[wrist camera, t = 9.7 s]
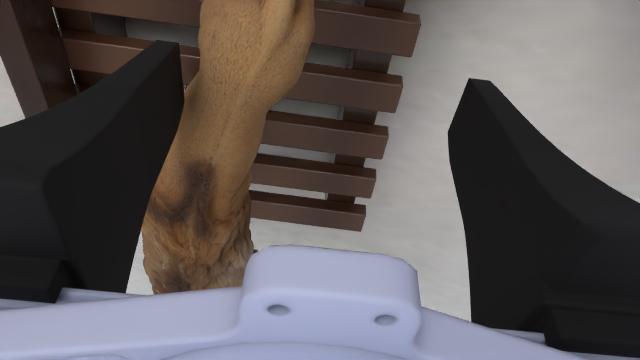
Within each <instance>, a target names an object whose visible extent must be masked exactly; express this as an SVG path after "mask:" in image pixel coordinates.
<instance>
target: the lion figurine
mask: <svg viewBox="0 0 640 360" xmlns="http://www.w3.org/2000/svg"><path fill="white" fill-rule="evenodd" d="M199 1H201V2H203V3H202V5H201V11H200V30H199V33H198V45H199V50H200V67H199V72H198V73H197V75H196V76H195V77H194V79H193V80H192V81H191V83H190V84H189V85H188V87H187V88H186V90H185V92H184V99H185V103H184V107H183V111H182V116H181V120H180V123H179V127H178V131H177V133H176V136H175V138H174V141H173V143H172V145H171V148H170V150H169V153H168V155H167V157H166V160H165V162H164V165H163V167H162V169H161V172H160V174H159V176H158V179H157V181H156V184H155V186H154V188H153V191H152V194H151V197H150V199H149V203H148V206H147V210H146V213H145V217H144V220H143V224H142V227H141V231H142V237H143V253H144V255H145V257H144V260H143V266H144V269H145V272H146V274H147V275H148V276H149V279H150V282H151V284H152V290H153V293H154V295H155V294H165V293H175V292H186V291H196V290H206V289H216V288H226V287H236V286H242V285H243V279H244V273H245V268H246V265H247V263H248V261H249V259H250V257H251V255H252V254H254V253H256V252H258V251H257V250H255V249H254V245H253V242H252V240H251V231H250V229H249V225H250V217H251V199H250V195H249V191H248V189H249V187H250V184H251V180H252V174H251V171H250V168H251V166H252V164H253V162H254V160H255V157H256V155H257V152H258V149H259V146H260V142H261V139H262V134H263V129H264V125H265V120H266V114H267V112H268V111H269V110H270V109H271V108H272V106H274V105H275V104H276V103H277V102H278V101H279V100H280V99H281V98H282V97H283V96H284V95H285V94H286V93H287V92H288V91H289V90H290V89H291V88H292V87H293V86H294V85H295V84H296V83H297V81H298V79H299V77H300V76H301V73H302V70H303V67H304V64H305V61H306V57H307V54H308V51H309V48H310V45H311V42H312V40H313V37H314V33H315V19H314V0H199Z"/></svg>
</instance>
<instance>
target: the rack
mask: <svg viewBox="0 0 640 360" xmlns="http://www.w3.org/2000/svg"><path fill="white" fill-rule="evenodd" d="M405 1H406V0H360V1H359V6H357V5H350V4H343V3H336V2H329V1H323V0H314V19H315V33H314V37H313V40H312V42H311V43H313V44H320V45H327V46H334V47H341V48H349V49H351V50H350V55H349V61H348V66H347V68H342V67H335V66H327V65H320V64H313V63H306V62H305V64H304V67H303V70H302V73H301V76H300V77H299V79H298V81H297V83H296V84H295V85H294V86H293V87H292V88H291V89H290V90H289V91H288V92H287V93H286V94H285V95H284V96H283V97H282V98H287V99H295V100H302V101H309V102H317V103H324V104H331V105H339V106H340V110H339V115H338V120H337V119H329V118H322V117H314V116H307V115H300V114H292V113H285V112H278V111H270V110H269V111H268V112H267V114H266V120H265V125H264V129H263V134H262V139H261V142H260V143H261V144H268V145H276V146H283V147H291V148H298V149H306V150H313V151H321V152H328V153H331V159H330V163H327V162H320V161H312V160H304V159H297V158H289V157H282V156H274V155H267V154H259V153H257V155H256V157H255V160H254V162H253V164H252V166H251V168H250V171H251V174H252V180H251V183H255V184H263V185H271V186H278V187H286V188H294V189H301V190H309V191H317V192H324V193H325V200H323V199H315V198H307V197H300V196H292V195H284V194H276V193H269V192H261V191H253V190H248V191H249V195H250V199H251V217H250V218H257V219H265V220H273V221H281V222H289V223H296V224H304V225H312V226H320V227H328V228H335V229H343V230H351V231H359V232H361V231H362V227H363V224H364V220H365V217H366V205H361V204H354V202H355V198H356V197H362V198H371V196H372V193H373V189H374V186H375V182H376V169H372V168H365V167H363V166H364V162H365V158H373V159H382V158H383V154H384V151H385V148H386V144H387V141H388V137H389V134H388V127H387V126H381V125H374V123H375V119H376V115H377V111H382V112H390V113H395V112H396V109H397V106H398V102H399V99H400V95H401V92H402V88H403V78H402V76H399V75H392V74H387V72H388V68H389V64H390V60H391V56H392V55H398V56H405V57H411V56H412V54H413V50H414V47H415V43H416V40H417V36H418V33H419V29H420V26H421V22H420V15H418V14H413V13H406V12H403V9H404V5H405ZM202 3H203V2H201V1H199V0H0V56H1V58H2V61H3V63H4V66H5V68H6V71H7V73H8V76H9V78H10V81H11V83H12V86H13V88H14V91H15V93H16V96H17V98H18V101H19V103H20V106H21V108H22V111H23V113H24V116H25V118H28V117H30V116H33V115H35V114H38V113H40V112H43V111H45V110H47V109H50V108H52V107H54V106H57V105H59V104H61V103H63V102H65V101H67V100H69V99H71V98H73V97H74V96H76V95H78V94H80V93H82V92H83V91H85V90H87V89H88V88H90V87H92V86H93V85H95V84H96V83H98V82H99V81H101V80H102V79H104V78H105V77H107V76H109V75H110V74H112V73H113V72H114V71H116V70H117V69H119V68H120V67H121V66H123V65H124V64H125V63H127V62H128V61H130V60H131V59H132V58H134V57H135V56H136V55H137V54H139V53H140V52H141V51H143V50H144V49H145V48H147V47H148V46H149V45H151V44H152V43H153V42H155V41H149V40H142V39H134V38H127V36H126V30H125V25H124V19H123V17H129V18H136V19H143V20H150V21H157V22H165V23H172V24H179V25H186V26H193V27H200V11H201V5H202ZM52 7H53V8H54V11H55V15H56V18H57V22H58V25H59V28H58V26H57V23H56V19H55V16H54V12H53V9H52ZM179 48H180V58H181V68H182V78H183V84H185V85H189V84H190V83H191V81H192V80H193V79H194V77H195V76H196V75H197V73H198V72H199V67H200V50H199V47H192V46H185V45H179ZM70 69H71V70H72V74H73V77H74V80H75V84H74V81H73V78H72V74H71V71H70Z"/></svg>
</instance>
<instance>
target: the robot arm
mask: <svg viewBox="0 0 640 360" xmlns="http://www.w3.org/2000/svg"><path fill="white" fill-rule="evenodd" d="M184 103H185V99H184V88H183V78H182V68H181V58H180V48H179V43H177V42H169V41H161V40H156V41H155V42H153V43H152V44H151V45H149V46H148V47H147V48H145V49H144V50H143V51H141V52H140V53H139V54H137V55H136V56H135V57H134V58H132V59H131V60H130V61H128V62H127V63H125V64H124V65H123V66H121V67H120V68H119V69H117V70H116V71H114V72H113V73H112V74H110V75H109V76H107V77H105V78H104V79H102V80H101V81H99V82H98V83H96V84H95V85H93V86H92V87H90V88H88V89H87V90H85V91H83V92H82V93H80V94H78V95H76V96H74V97H73V98H71V99H69V100H67V101H65V102H63V103H61V104H59V105H57V106H54V107H52V108H50V109H47V110H45V111H43V112H40V113H38V114H35V115H33V116H30V117H28V118H26V119H23V120H20V121H18V122H15V123H12V124H9V125H6V126H3V127H0V360H640V203H638V202H636V201H634V200H633V199H631V198H629V197H627V196H625V195H623V194H622V193H620V192H618V191H617V190H615V189H613V188H612V187H610V186H608V185H607V184H605V183H604V182H602V181H601V180H599V179H598V178H596V177H595V176H593V175H591V174H590V173H589V172H587V171H586V170H584V169H583V168H582V167H580V166H579V165H578V164H576V163H575V162H574V161H572V160H571V159H570V158H569V157H567V156H566V155H565V154H563V153H562V152H561V151H560V150H559V149H557V148H556V147H555V146H554V145H553V144H552V143H551V142H550V141H549V140H547V139H546V138H545V137H544V136H543V135H542V134H541V133H540V132H539V131H538V130H537V129H536V128H535V127H534V126H533V125H532V124H531V123H530V122H529V121H528V120H527V119H526V118H525V117H524V116H523V115H522V114H521V113H520V112H519V111H518V110H517V109H516V108H515V106H514V105H513V104H512V103H511V102H510V101H509V100H508V99H507V98H506V97H505V96H504V95H503V93H502V92H501V91H500V90H499V89H498V88H497V87H496V86H495V85H494V84H493V83H492V82H491V81H488V80H480V79H472V78H469V79H468V82H467V84H466V87H465V90H464V92H463V95H462V97H461V100H460V102H459V105H458V107H457V110H456V112H455V115H454V118H453V120H452V123H451V125H450V128H449V130H448V147H449V159H450V165H451V170H452V175H453V179H454V184H455V188H456V193H457V197H458V201H459V206H460V210H461V215H462V219H463V224H464V230H465V237H466V247H467V257H468V269H469V282H470V301H471V322H469V321H466V320H463V319H460V318H457V317H453V316H450V315H447V314H444V313H441V312H438V311H434V310H431V309H428V308H425V307H422V306H421V303H420V294H419V285H418V276H417V271H416V270H415V269H414V268H413V267H412V266H411V265H410V264H408V263H407V262H406V261H405V260H403V259H400V258H396V257H393V256H389V255H385V254H377V253H368V252H358V251H348V250H338V249H328V248H319V247H309V246H299V245H275V246H269V247H267V248H264V249H262V250H260V251H258V252H256V253H254V254H252V255H251V257H250V259H249V261H248V263H247V265H246V268H245V273H244V279H243V285H242V286H236V287H226V288H216V289H206V290H196V291H186V292H175V293H165V294H155V295H136V294H126V289H127V284H128V280H129V276H130V271H131V267H132V263H133V259H134V254H135V251H136V247H137V243H138V239H139V235H140V231H141V227H142V224H143V220H144V217H145V213H146V210H147V206H148V203H149V199H150V197H151V194H152V191H153V188H154V186H155V184H156V181H157V179H158V176H159V174H160V172H161V169H162V167H163V165H164V162H165V160H166V157H167V155H168V153H169V150H170V148H171V145H172V143H173V141H174V138H175V136H176V133H177V131H178V127H179V123H180V120H181V116H182V111H183V107H184Z"/></svg>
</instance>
